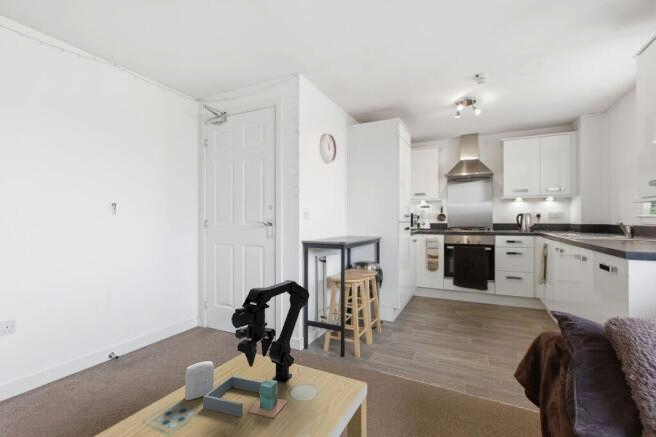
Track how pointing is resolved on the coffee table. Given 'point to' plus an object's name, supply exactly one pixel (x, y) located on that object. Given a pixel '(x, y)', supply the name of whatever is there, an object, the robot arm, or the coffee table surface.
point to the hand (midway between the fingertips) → (257, 361)
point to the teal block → (268, 394)
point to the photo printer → (199, 380)
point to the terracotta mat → (268, 413)
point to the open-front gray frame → (227, 406)
